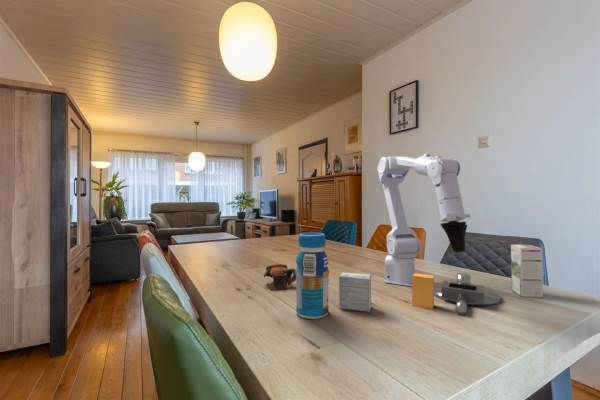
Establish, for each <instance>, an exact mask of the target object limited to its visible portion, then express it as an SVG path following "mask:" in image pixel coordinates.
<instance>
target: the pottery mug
mask: <svg viewBox="0 0 600 400" xmlns="http://www.w3.org/2000/svg"><path fill="white" fill-rule="evenodd" d="M265 270H266V271H265V272H264V274H263V275H264V276H263V278H266V277H268V278H272V281H270V282H268V288H269V290H270V291H271V290H278V289H279V290H287V287H288V286H291V284H292V283H293V282H296V273H295V272H296V268H289V269H288V266H287V264H282V263H281V264H280V263H278V264H276V263H275V264H272V265H268V266H266V268H265Z"/></svg>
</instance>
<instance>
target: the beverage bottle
mask: <svg viewBox="0 0 600 400" xmlns="http://www.w3.org/2000/svg"><path fill="white" fill-rule="evenodd" d="M298 246H299V248H300V251H298V253H297V256H296V259H295V263H296V265H297V266H296V267H295V270H296V272H295V273H296V280H295V288H296V289H295V293H296V295H295V296H296V297H295V298H296V299H295V300H296V308H295V311H296V314H297V315H298V316H299V317H301V318H304V319H309V320H319V319H322V318H324V317H326V316H327V315H328V314H329V309H330V307H329V275H330V269H329V267H328V264H329V263H330V261H329V257H328V255H327V253H326V251H325V250H324V248H326V234H325V233H322V232H302V233H299V234H298Z"/></svg>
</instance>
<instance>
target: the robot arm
mask: <svg viewBox="0 0 600 400" xmlns="http://www.w3.org/2000/svg"><path fill="white" fill-rule="evenodd" d="M431 155H432V154H430V153H429V154H428V153H423V155H421V156H419V157H417V158H414V157H411V156H386V157H385V156H382V157H381V158H380V160H379V161H378V165H377V172H378V173H377V174H378V177H379V182H380V183H381V184H382V189H383V193H384V198H385V203H386V206H387V211H388V217H389V221H390V224H391V230H390V231H389V232H388V233H387V235H386V249H387V252H388V253H389V255H386V257H385V261H384V283H386V284H394V285H400V286H406V287H412V275H413V274H414V273H416V258H417V256H418V254H419V253H420V251H421V246H422V245H421V241H420V239H419V238H418V235H417V233H416V231H414V229H412V228H411V227H409V226H408V222H407V221H408V220H407V217H406V214H405V209H404V206H403V205H404V204H403V202H402V196H401V192H400V189H399V185H400V184H402V183H403V182H404V180H405V178H406V176H407V175H408V173H409V172H410V170H411V169H413V170H414V172H416V173H417V174H418V175H422V176H427V177H429V179H430V180H431V182H432V185H433V186H434V188H435V189H434V190H435V193H436V198H437V199H436V200H437V205H438V211H439V216H440V219H439V220H440V222H442V223H440V226H441V228H442V229H443V231H444V232H445V234H446V236H447V239H448V241H449V243H450V246H451V248H452V251H453V252H455V253H465V251H466V250H465V249H466V245H465V244H466V243H465V242H466V240H465V239H466V238H465V237H466V231H467V227H468V225H467V222H466V221H462V220H465V219H467V218H468V219H469V218H471V214H470V213H468V214H466V213H465V210H464V206H463V205H464V204H463V200H462V195H461V194H462V193H461V190H460V185H459V180H458V176H459V174H460V173H461V164H460V162H459V161H458V160H457V158H456V159H455V158H454V157H450V158H444V157H443V158H442V156H441V155H435V156H431Z"/></svg>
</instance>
